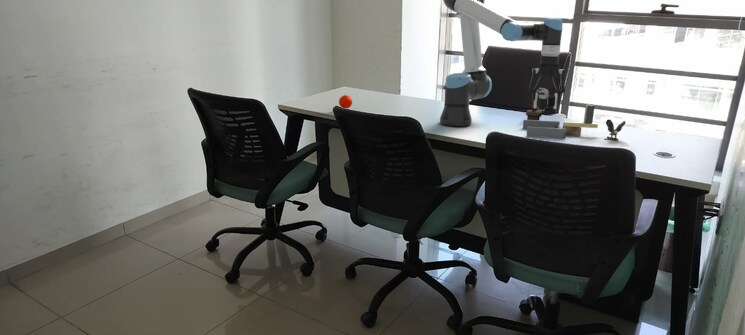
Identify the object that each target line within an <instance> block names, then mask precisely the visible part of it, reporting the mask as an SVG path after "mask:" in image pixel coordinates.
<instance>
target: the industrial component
mask: <svg viewBox="0 0 745 335" xmlns="http://www.w3.org/2000/svg"><path fill="white" fill-rule="evenodd" d="M531 107H532V108H531V109H527V110H526V112H525V113H524V114H525V115H526V117H527V118H526V120H541V117H542V116H543V111H539V110H538V108H537V106H536V108H534V100H532V106H531Z"/></svg>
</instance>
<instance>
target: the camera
mask: <svg viewBox="0 0 745 335" xmlns="http://www.w3.org/2000/svg"><path fill="white" fill-rule="evenodd" d="M536 93H538V95H537V110H539V111H542V112H544V111H545V110H546V109H548V108H553V107H554V106H555V95H549V94H550V93H549V90H548V89H546V88H545V87H544V88H543V87H539V88H538V90H537V91H536Z"/></svg>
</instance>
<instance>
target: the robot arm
mask: <svg viewBox="0 0 745 335" xmlns="http://www.w3.org/2000/svg"><path fill="white" fill-rule="evenodd" d="M443 3H444V5H445V7H446V8H447V9H449V10H451V11H453V12H455V13H456V17H457V18H459V22H460V30H461V41H462V53H463V54H462V56H463V64H464V65H463V66H464V69H463V71H462V72H458V73H457V72H456V73H451V74H448V75H447V76H446V78H445V82H444V103H443V105H444V107H443V109H442V112H441V114H440V118H439V123H440V124H442V125H446V126H452V127H466V126H470V125H471V126H472V121H473V119H472V116H471V111H470V100H481V99H483V98H485V97H487V96H488V95H489V94H490V92H491V90H492V86H493V83H492V79H491V78H490V76H489V75H487V69H486V68H484V66H483V58H482V57H483V56H482V45H481V43H482V42H481V35H480V34H481V33H480V24H481V25H484V26H485V27H487V28H489V29H490V30H492V31H494V32H495V33H496V32H497V33H498V34H500V35H501V37H502V38H503V39H504V40H505V41H509V42H517V41H518V42H519V41H524V42H525V41H539V42H541V51H540V53H541V55H540V63H539V66H538V68H532V69H531V71H532V76H531V77H530V78H531V79H530V82H529V86H528V87H529V88H528V91H529V92H531V93H532V97H531V100H532V101H533V100H534V108H536V106H537V95H538V93H537V90H539V88H540V86H541V84H542V82H543V81H544V79H545V78H551V79H552V83H553V85H554V88H555V91H556V92H555V93H554V96H555V106H554V107H552V108H553V110H557V104H558V103H557V102H560V100H561V94H564V93H565V92H566V85H565V84H566V82H565V74H566V70H565V69H564V68H563V69H561V68H560V67H559V63H560V62H559V61H560V56H559V55H560V54H561V52H560V51H561V43H562V42H561V41H562V33H563V23H564V22H563V19H562V18H559V17H558V18H557V17H554V18H553V17H547V18H544V21H543V22H526V21H525V22H523V21H522V22H520V21H519V22H518V21H516V20H514V19H512V18H511V17H509V16H507V15H505V14H503V13H501V12H499V11H498V10H495V9H493V8H491V7H489V5H486V4H485V0H443ZM538 72H539V73H540V76H539V78H538V80H537V81H536V80H535V79H536V76H537V74H538ZM558 72H559V76H560V87H559V83H558V80H557V77H556V75H557V73H558ZM535 81H536V83H535ZM534 84H535V86H534Z"/></svg>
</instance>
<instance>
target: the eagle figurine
mask: <svg viewBox="0 0 745 335" xmlns="http://www.w3.org/2000/svg"><path fill="white" fill-rule="evenodd" d="M605 125H606V126H607V131H608V132H609V136H606V138H604V140H613V141H614V140H615V141H619V138H617V135H618V133H619V132H621V131H622V128H623V127H624V126H625V125H626V120H623V121H622V122H620V124H619V123H618V125H617V126H616V127H615V126H614V122H613V121H612V120H611V119H606V121H605ZM613 136H614V137H613Z"/></svg>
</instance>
